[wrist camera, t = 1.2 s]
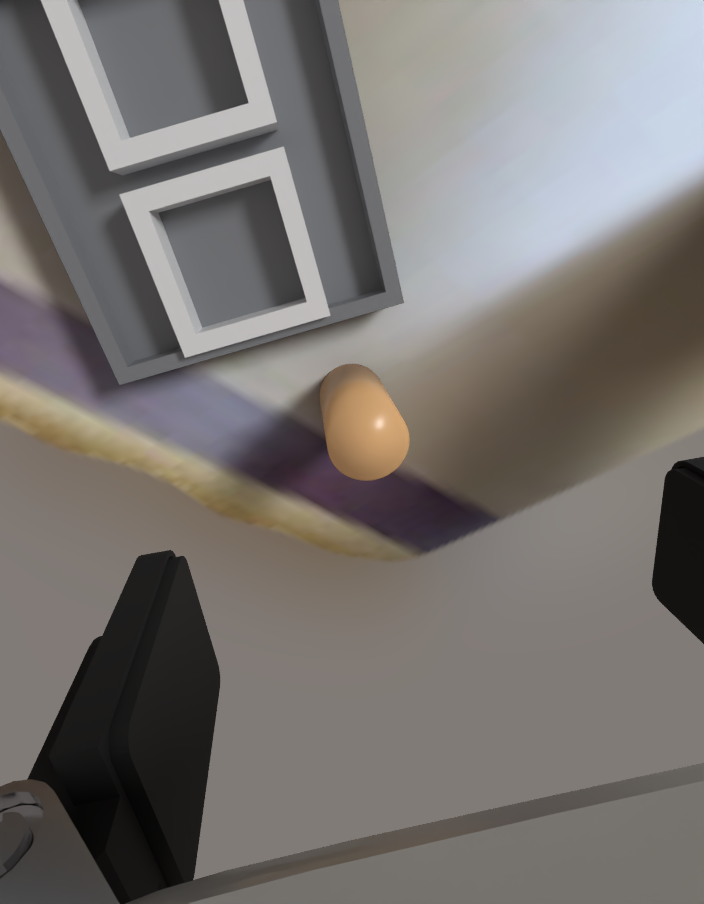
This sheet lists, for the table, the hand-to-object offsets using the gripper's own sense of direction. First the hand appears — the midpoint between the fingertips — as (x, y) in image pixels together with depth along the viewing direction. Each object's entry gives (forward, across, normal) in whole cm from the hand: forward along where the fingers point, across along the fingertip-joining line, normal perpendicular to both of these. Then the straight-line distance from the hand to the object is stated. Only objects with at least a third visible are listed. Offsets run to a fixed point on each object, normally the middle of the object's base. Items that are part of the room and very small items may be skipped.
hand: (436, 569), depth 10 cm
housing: (+23, +5, -10) cm, 26 cm away
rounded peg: (+23, -1, +3) cm, 23 cm away
